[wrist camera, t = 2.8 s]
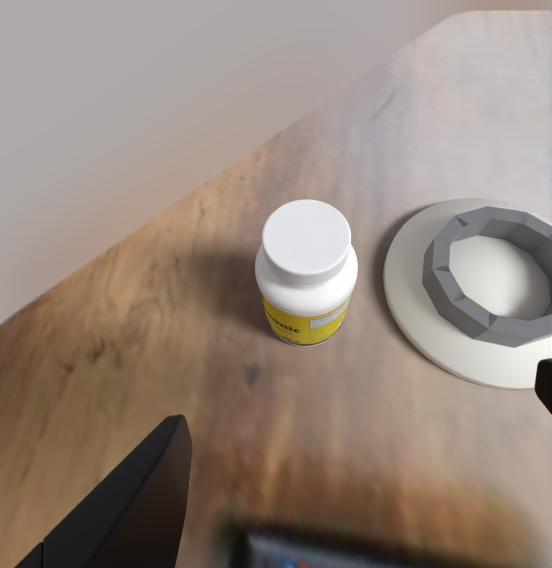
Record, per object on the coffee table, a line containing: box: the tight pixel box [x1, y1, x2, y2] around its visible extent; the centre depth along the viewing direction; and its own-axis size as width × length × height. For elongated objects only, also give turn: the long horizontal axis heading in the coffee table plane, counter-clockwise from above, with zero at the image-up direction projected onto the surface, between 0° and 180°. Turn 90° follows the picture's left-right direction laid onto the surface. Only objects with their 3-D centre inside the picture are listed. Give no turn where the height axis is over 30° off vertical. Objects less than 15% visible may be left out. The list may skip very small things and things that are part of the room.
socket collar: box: [383, 198, 552, 390], centre depth 22 cm, size 14×14×3 cm
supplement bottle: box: [255, 200, 358, 347], centre depth 19 cm, size 5×5×10 cm
